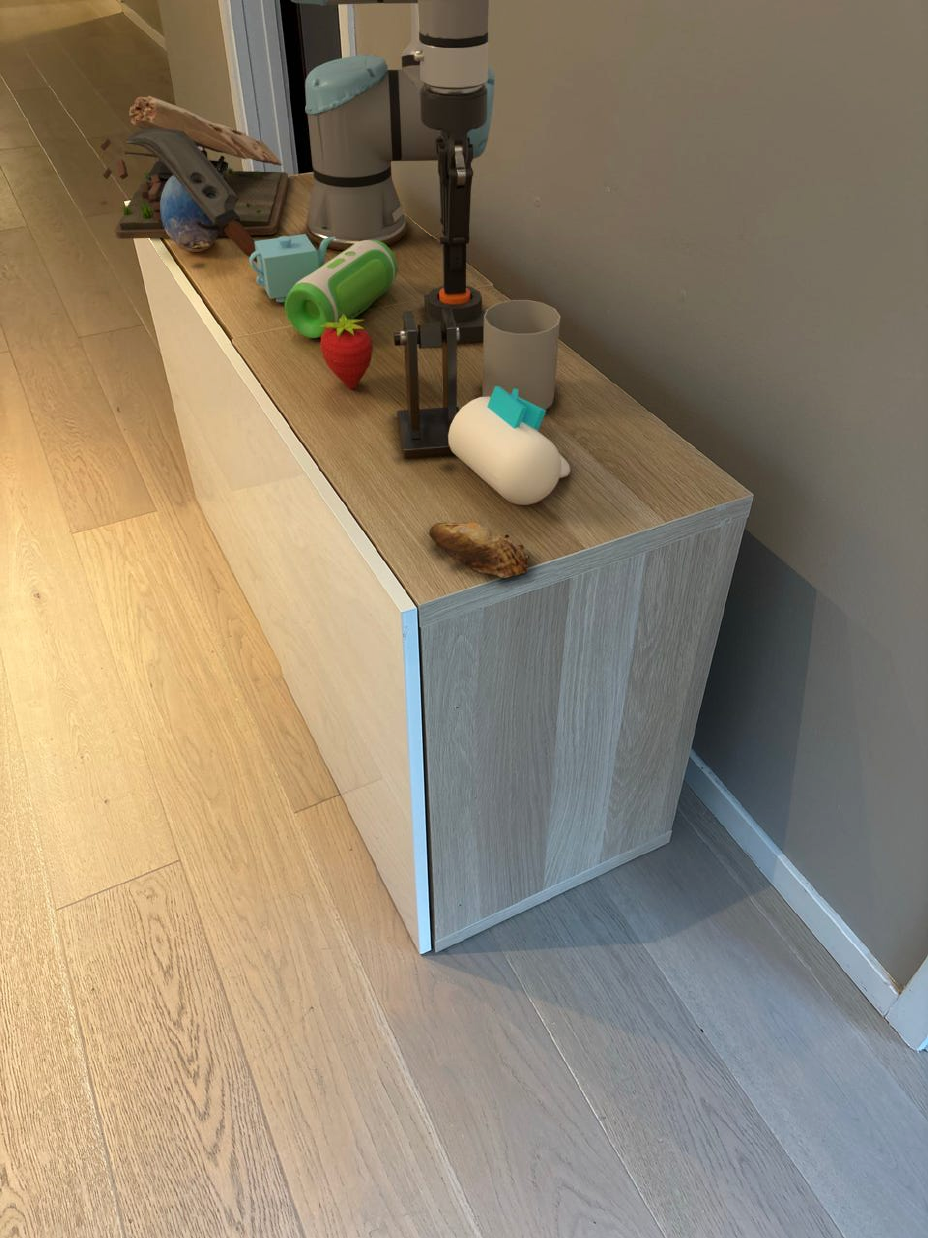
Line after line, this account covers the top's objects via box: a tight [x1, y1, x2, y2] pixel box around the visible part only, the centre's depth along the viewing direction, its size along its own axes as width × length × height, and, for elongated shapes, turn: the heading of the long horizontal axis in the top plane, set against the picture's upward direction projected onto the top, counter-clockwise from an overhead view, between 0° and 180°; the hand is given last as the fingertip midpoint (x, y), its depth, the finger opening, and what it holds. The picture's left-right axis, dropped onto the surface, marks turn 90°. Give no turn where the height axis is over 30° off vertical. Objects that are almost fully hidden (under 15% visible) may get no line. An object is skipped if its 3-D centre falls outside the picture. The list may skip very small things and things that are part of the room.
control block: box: [423, 285, 485, 344], centre depth 121 cm, size 10×7×4 cm
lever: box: [393, 322, 443, 350], centre depth 100 cm, size 14×6×2 cm, turn 8°
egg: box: [160, 175, 219, 267], centre depth 137 cm, size 9×9×15 cm
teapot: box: [248, 233, 335, 303], centre depth 127 cm, size 12×6×8 cm, turn 111°
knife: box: [123, 128, 258, 264], centre depth 132 cm, size 9×2×30 cm
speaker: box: [284, 240, 398, 339], centre depth 122 cm, size 18×7×8 cm, turn 153°
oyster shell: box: [428, 522, 530, 579], centre depth 88 cm, size 6×4×10 cm
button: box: [439, 288, 470, 304], centre depth 120 cm, size 4×4×2 cm
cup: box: [481, 299, 561, 411], centre depth 106 cm, size 8×8×10 cm
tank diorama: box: [99, 137, 290, 240], centre depth 148 cm, size 28×25×11 cm
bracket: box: [396, 308, 461, 460], centre depth 99 cm, size 8×7×14 cm
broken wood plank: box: [129, 95, 283, 166], centre depth 150 cm, size 28×12×5 cm, turn 130°
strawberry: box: [318, 308, 374, 390], centre depth 107 cm, size 6×8×10 cm
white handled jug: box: [448, 386, 571, 506], centre depth 95 cm, size 12×9×12 cm
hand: (454, 290), depth 119 cm, fingers closed
